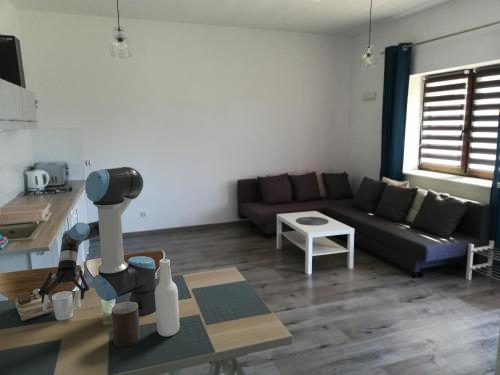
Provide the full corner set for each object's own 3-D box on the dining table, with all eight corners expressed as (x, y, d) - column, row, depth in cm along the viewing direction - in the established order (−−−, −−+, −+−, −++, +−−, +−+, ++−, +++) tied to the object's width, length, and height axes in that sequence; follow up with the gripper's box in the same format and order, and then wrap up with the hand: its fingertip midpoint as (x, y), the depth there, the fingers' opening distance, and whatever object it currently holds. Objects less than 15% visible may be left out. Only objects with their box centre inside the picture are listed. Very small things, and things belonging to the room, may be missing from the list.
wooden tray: (54, 314, 160) (53, 305, 159) (22, 324, 152) (21, 315, 151) (45, 299, 173) (44, 291, 172) (15, 307, 166) (14, 299, 165)
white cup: (66, 322, 153) (63, 300, 151) (49, 320, 155) (47, 298, 153) (78, 312, 161) (76, 291, 159) (62, 311, 162) (60, 290, 160)
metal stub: (41, 298, 168) (40, 290, 167) (34, 300, 166) (33, 292, 165) (40, 295, 170) (39, 288, 170) (33, 297, 168) (32, 289, 168)
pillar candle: (125, 350, 134) (122, 313, 131) (108, 342, 139) (105, 306, 136) (145, 337, 142) (143, 302, 139) (128, 330, 147) (126, 295, 144)
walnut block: (31, 302, 165) (30, 293, 164) (21, 305, 162) (20, 297, 161) (28, 299, 167) (27, 291, 166) (18, 302, 164) (17, 294, 163)
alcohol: (174, 338, 141) (170, 265, 135) (153, 336, 142) (148, 264, 137) (182, 325, 149) (179, 256, 144) (162, 324, 151) (158, 255, 146)
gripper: (98, 263, 172) (94, 308, 160) (40, 268, 167) (32, 314, 155) (95, 256, 166) (91, 302, 154) (35, 261, 161) (26, 309, 149)
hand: (61, 308), depth 155 cm, fingers open, 13 cm apart
